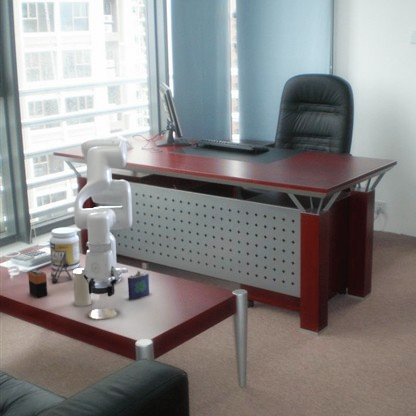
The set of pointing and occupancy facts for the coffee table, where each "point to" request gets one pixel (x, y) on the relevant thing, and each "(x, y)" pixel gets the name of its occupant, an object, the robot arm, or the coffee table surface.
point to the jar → (81, 289)
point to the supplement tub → (64, 247)
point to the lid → (99, 287)
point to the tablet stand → (64, 265)
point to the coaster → (102, 313)
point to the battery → (37, 283)
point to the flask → (138, 286)
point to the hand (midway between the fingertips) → (101, 293)
